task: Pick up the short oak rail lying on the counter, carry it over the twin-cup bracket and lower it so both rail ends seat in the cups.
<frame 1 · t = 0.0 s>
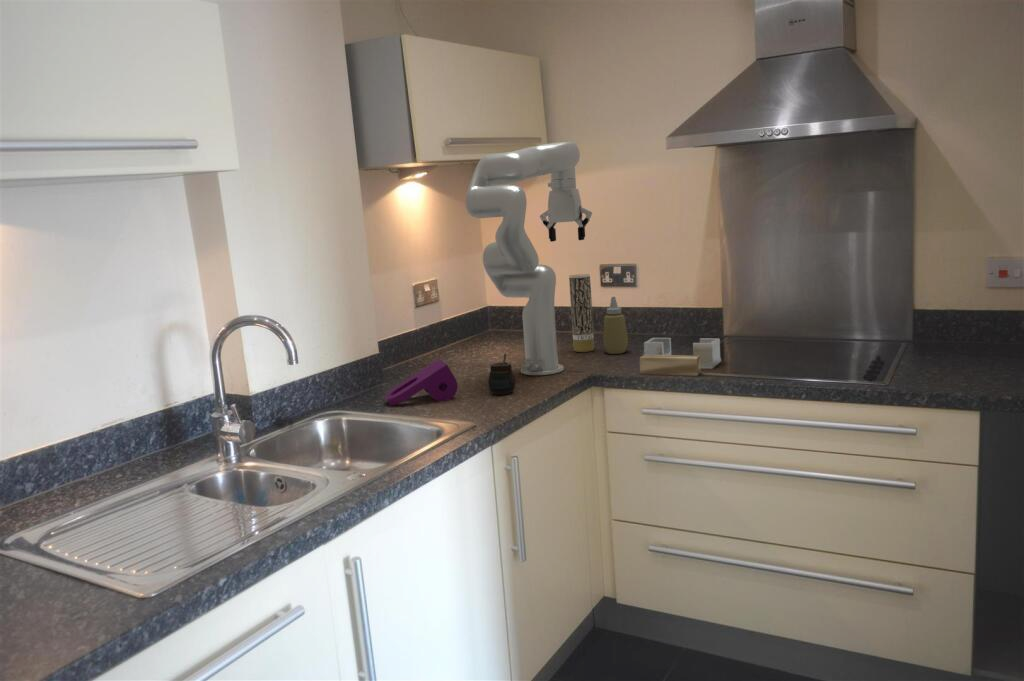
hand: (567, 240, 265), 37 cm above the worktop, tool pointing down, fingers open, 9 cm apart
squeeze bottle: (616, 353, 271), on the worktop
bracket: (682, 364, 246), on the worktop
rail: (670, 374, 235), on the worktop
paper tube: (584, 351, 278), on the worktop
mounting bracket: (420, 401, 226), on the worktop
mate gourd: (502, 393, 226), on the worktop
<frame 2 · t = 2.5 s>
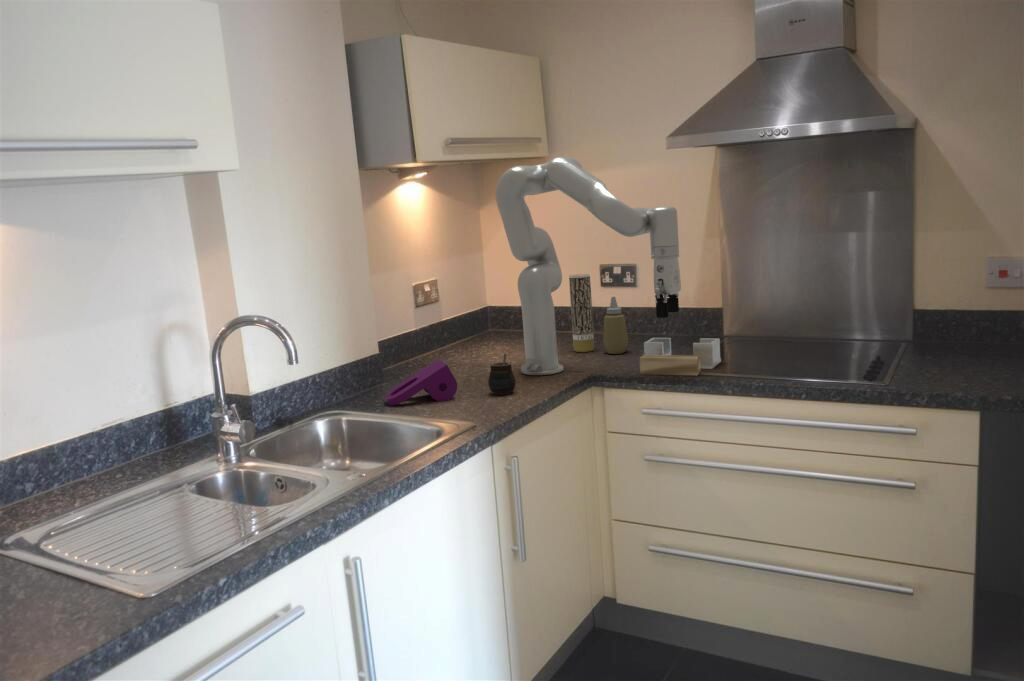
hand: (667, 314, 232), 16 cm above the worktop, tool pointing down, fingers open, 9 cm apart
nothing on the worktop moved.
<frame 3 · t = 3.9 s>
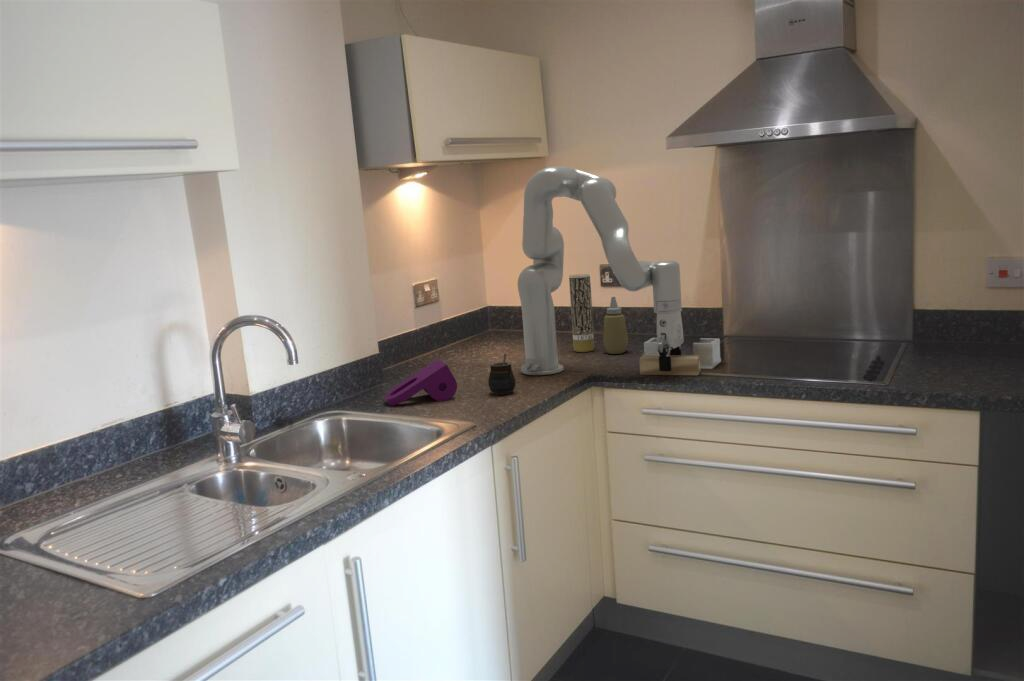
hand: (670, 367, 235), 2 cm above the worktop, tool pointing down, fingers open, 9 cm apart
nothing on the worktop moved.
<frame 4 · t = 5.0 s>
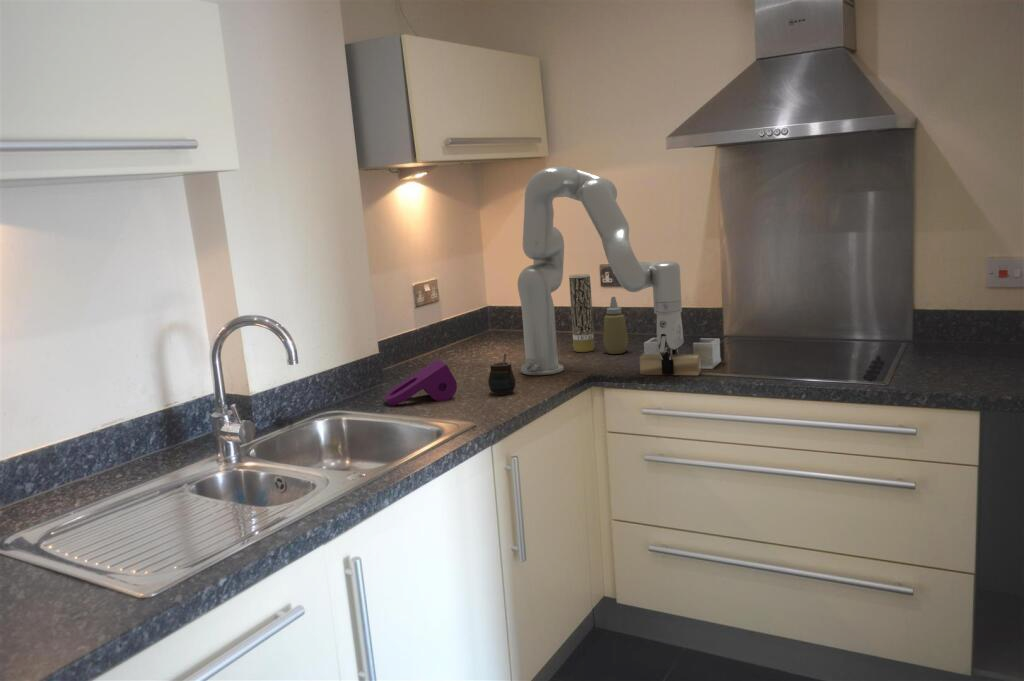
hand: (670, 371, 235), 0 cm above the worktop, tool pointing down, fingers closed on rail, 4 cm apart
rail: (670, 373, 235), on the worktop, touching gripper
everything else where it was.
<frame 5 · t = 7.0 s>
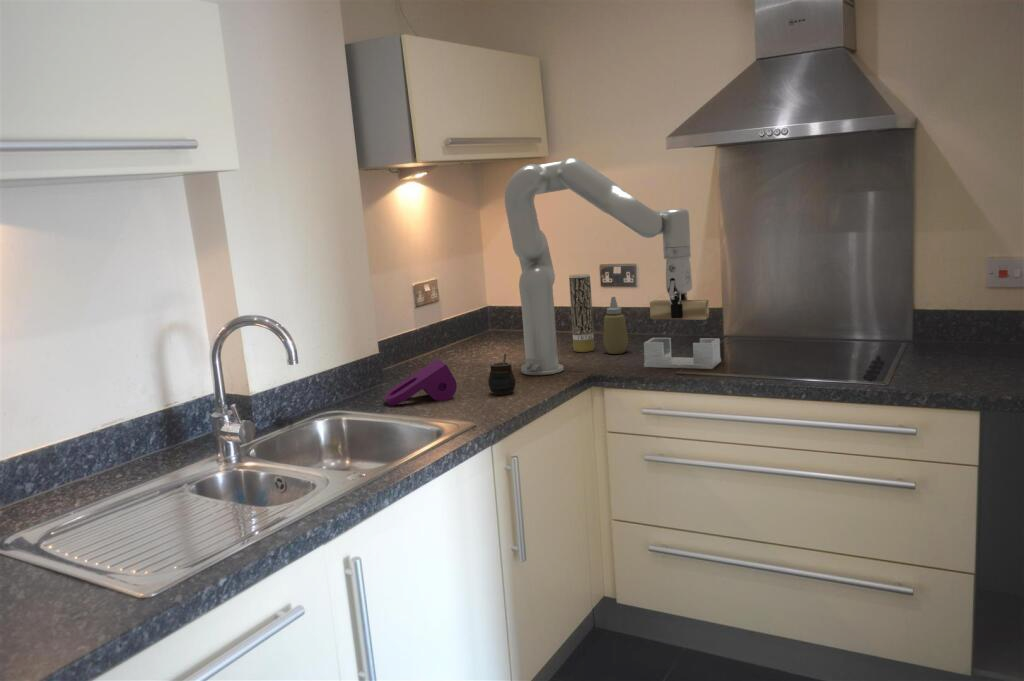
hand: (679, 316, 242), 14 cm above the worktop, tool pointing down, fingers closed on rail, 4 cm apart
rail: (679, 318, 242), point 14 cm above the worktop, touching gripper
everything else where it was.
when the fingers open (5 cm above the worktop, at t = 9.2 s): rail drops 1 cm, resting on bracket.
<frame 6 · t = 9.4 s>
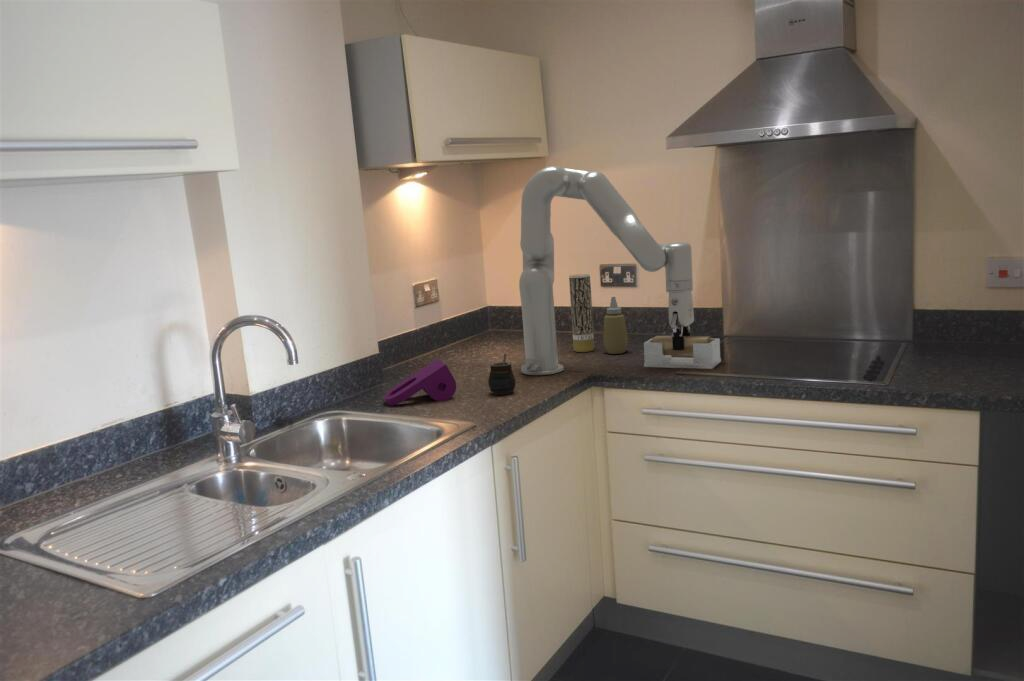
hand: (681, 347, 245), 5 cm above the worktop, tool pointing down, fingers open, 5 cm apart
rail: (681, 354, 245), point 3 cm above the worktop, touching bracket
everything else where it was.
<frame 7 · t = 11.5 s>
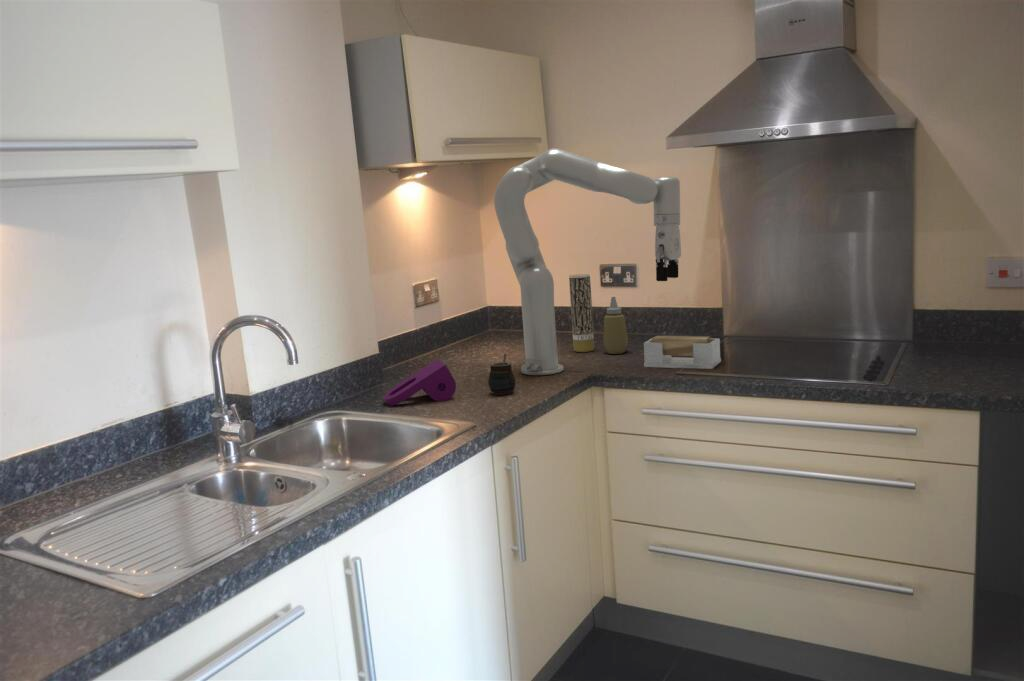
hand: (667, 279, 248), 24 cm above the worktop, tool pointing down, fingers open, 9 cm apart
nothing on the worktop moved.
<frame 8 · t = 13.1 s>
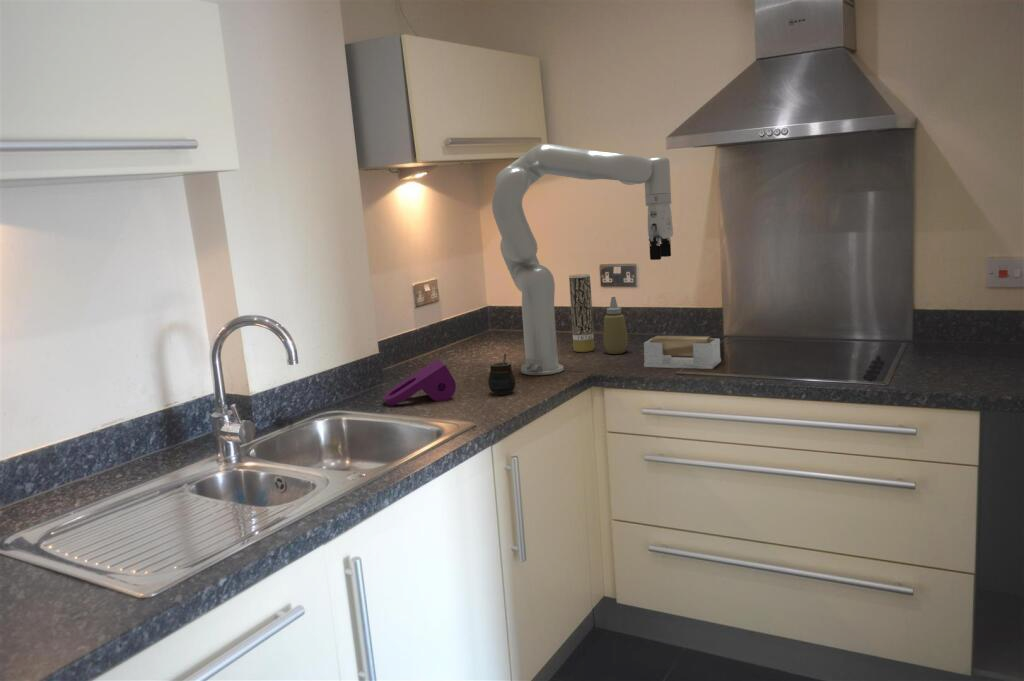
hand: (660, 258, 252), 30 cm above the worktop, tool pointing down, fingers open, 9 cm apart
nothing on the worktop moved.
at the end: rail 0.1 cm off-centre on the bracket, point 3.0 cm above the bracket's base; rail tilted 0°; the gripper is holding nothing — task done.
